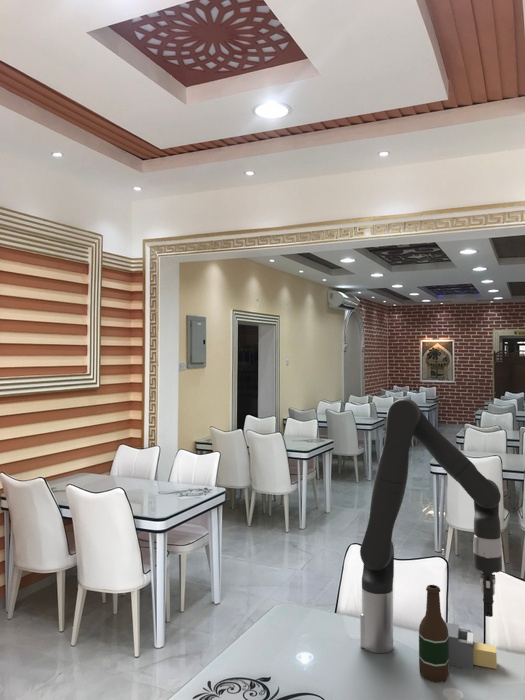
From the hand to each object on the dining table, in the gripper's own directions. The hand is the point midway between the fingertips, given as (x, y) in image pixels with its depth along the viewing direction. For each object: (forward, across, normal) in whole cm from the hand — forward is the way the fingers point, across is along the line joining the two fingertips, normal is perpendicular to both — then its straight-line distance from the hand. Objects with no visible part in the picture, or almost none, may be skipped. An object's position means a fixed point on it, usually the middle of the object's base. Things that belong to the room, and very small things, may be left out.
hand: (488, 609), depth 155 cm
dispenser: (+15, 0, -10) cm, 19 cm away
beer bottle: (+16, +11, -14) cm, 24 cm away
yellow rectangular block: (+15, 0, -3) cm, 16 cm away
